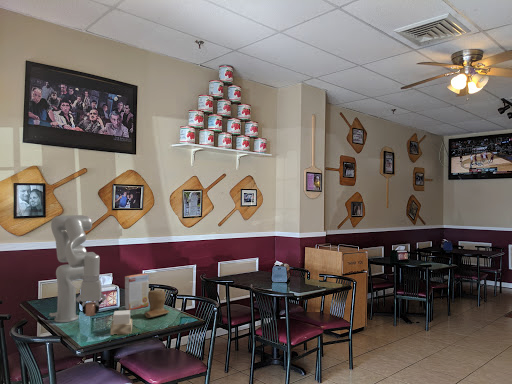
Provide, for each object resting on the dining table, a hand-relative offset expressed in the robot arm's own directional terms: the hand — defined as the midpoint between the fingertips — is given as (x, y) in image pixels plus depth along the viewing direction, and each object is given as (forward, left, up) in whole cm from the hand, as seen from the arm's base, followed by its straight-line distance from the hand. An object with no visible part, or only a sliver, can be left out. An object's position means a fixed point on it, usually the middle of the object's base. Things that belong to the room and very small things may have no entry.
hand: (90, 313), depth 212 cm
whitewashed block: (+16, +1, -6) cm, 17 cm away
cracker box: (+20, +46, -11) cm, 52 cm away
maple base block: (+15, +1, -11) cm, 19 cm away
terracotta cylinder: (0, 0, -1) cm, 1 cm away
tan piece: (+32, +26, -11) cm, 43 cm away
